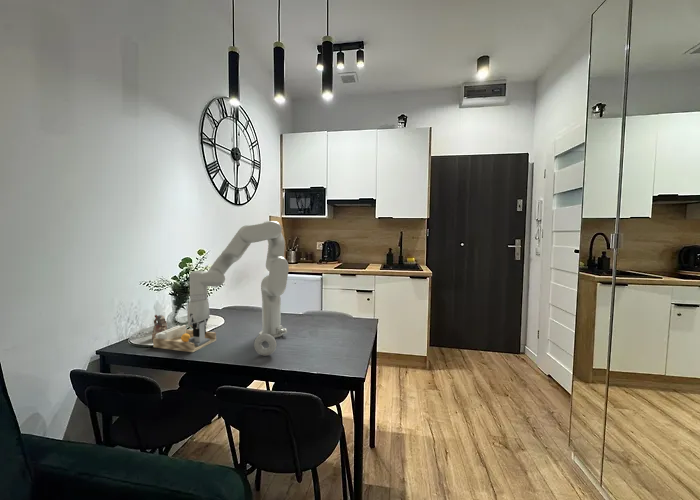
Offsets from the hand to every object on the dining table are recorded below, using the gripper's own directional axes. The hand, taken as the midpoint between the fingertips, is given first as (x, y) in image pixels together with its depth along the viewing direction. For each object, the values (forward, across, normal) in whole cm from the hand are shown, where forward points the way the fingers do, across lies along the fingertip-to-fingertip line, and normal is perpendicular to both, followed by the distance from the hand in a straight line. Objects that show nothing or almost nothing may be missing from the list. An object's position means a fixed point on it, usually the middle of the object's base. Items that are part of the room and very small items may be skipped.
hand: (199, 334), depth 154 cm
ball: (+2, 0, -8) cm, 8 cm away
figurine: (+5, -3, -26) cm, 27 cm away
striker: (+4, 0, 0) cm, 4 cm away
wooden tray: (+5, 0, -8) cm, 10 cm away
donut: (+5, +2, +36) cm, 36 cm away
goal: (+4, 0, -16) cm, 16 cm away
